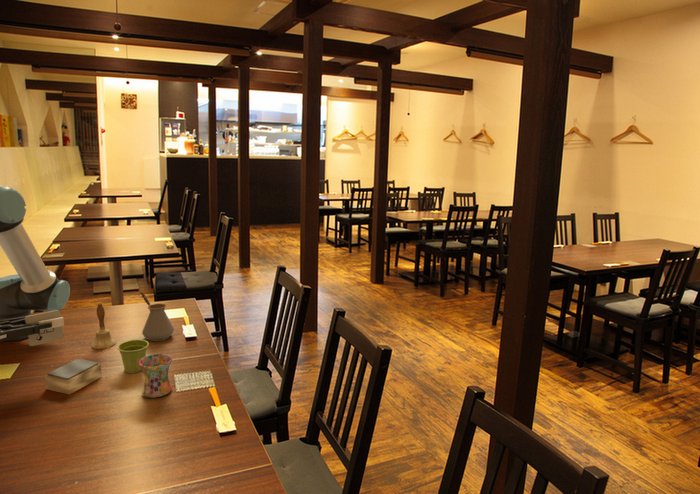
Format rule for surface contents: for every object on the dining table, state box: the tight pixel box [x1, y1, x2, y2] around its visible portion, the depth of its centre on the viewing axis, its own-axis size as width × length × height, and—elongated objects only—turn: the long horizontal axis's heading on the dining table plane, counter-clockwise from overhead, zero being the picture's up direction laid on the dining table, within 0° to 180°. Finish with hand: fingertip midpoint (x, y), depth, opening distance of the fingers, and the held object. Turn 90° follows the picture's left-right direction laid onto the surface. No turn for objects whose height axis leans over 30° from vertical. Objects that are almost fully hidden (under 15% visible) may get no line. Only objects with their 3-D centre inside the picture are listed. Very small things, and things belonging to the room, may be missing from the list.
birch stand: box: [44, 358, 103, 395], centre depth 146 cm, size 12×9×5 cm
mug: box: [139, 353, 173, 398], centre depth 142 cm, size 12×9×11 cm
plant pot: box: [117, 339, 150, 374], centre depth 156 cm, size 9×9×9 cm
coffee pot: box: [138, 291, 175, 342], centre depth 185 cm, size 21×12×15 cm, turn 45°
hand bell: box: [91, 303, 117, 350], centre depth 173 cm, size 8×8×16 cm
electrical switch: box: [25, 310, 64, 347], centre depth 146 cm, size 9×5×9 cm, turn 138°
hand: (61, 319), depth 149 cm, fingers closed on electrical switch, 4 cm apart
